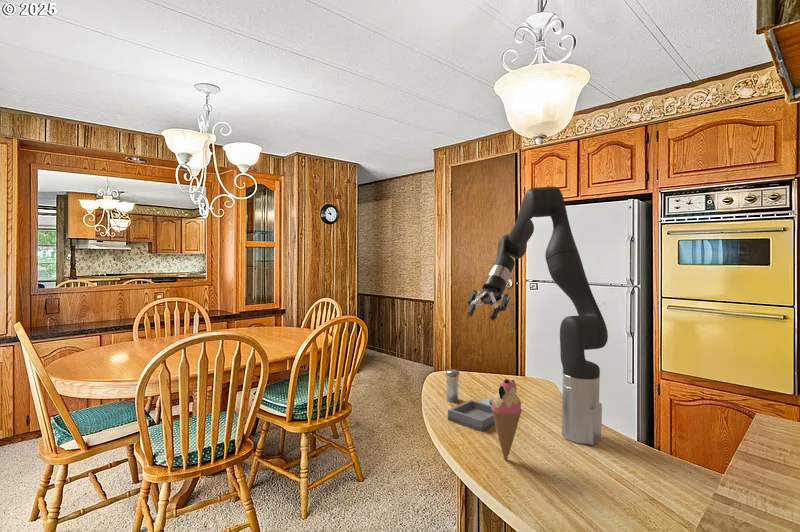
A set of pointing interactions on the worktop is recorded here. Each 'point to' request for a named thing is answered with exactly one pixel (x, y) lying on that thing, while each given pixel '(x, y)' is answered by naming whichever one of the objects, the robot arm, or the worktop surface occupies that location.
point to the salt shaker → (452, 385)
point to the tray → (472, 415)
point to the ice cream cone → (506, 414)
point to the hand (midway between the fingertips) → (480, 317)
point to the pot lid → (486, 401)
